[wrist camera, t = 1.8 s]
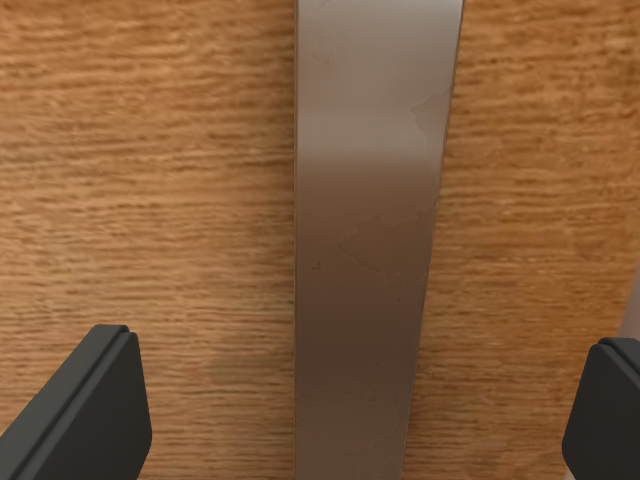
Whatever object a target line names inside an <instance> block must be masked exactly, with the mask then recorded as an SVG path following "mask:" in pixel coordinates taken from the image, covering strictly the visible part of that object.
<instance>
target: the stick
mask: <svg viewBox="0 0 640 480" xmlns="http://www.w3.org/2000/svg"><path fill="white" fill-rule="evenodd" d="M464 7H465V0H295V10H294V480H401V478H402V471H403V463H404V456H405V448H406V441H407V433H408V426H409V418H410V411H411V403H412V396H413V388H414V381H415V373H416V366H417V358H418V351H419V343H420V336H421V328H422V321H423V314H424V306H425V299H426V291H427V284H428V276H429V269H430V261H431V254H432V246H433V239H434V231H435V224H436V216H437V209H438V201H439V194H440V186H441V179H442V171H443V164H444V156H445V149H446V141H447V134H448V126H449V119H450V112H451V104H452V97H453V89H454V82H455V74H456V67H457V59H458V52H459V44H460V37H461V29H462V22H463V14H464Z"/></svg>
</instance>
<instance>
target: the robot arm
mask: <svg viewBox="0 0 640 480" xmlns="http://www.w3.org/2000/svg"><path fill="white" fill-rule="evenodd" d="M151 441H152V428H151V421H150V415H149V408H148V402H147V395H146V388H145V382H144V375H143V368H142V362H141V355H140V348H139V342H138V337H137V334H136V333H134V332H130V331H129V329H128V327H127V326H126V325H105V324H98V325H95V326H94V327H93V328H92V329H91V330H90V331H89V333H88V334H87V335H86V336H85V337H84V339H83V340H82V341H81V342H80V343H79V345H78V346H77V347H76V348H75V349H74V351H73V352H72V353H71V354H70V355H69V357H68V358H67V359H66V360H65V361H64V363H63V364H62V365H61V366H60V368H59V369H58V370H57V371H56V372H55V374H54V375H53V376H52V377H51V378H50V380H49V381H48V382H47V383H46V384H45V386H44V387H43V388H42V389H41V390H40V392H39V393H38V394H37V395H36V396H35V397H34V398H33V399H32V400H31V401H30V402H29V404H28V405H27V406H26V407H25V408H24V410H23V411H22V412H21V413H20V414H19V416H18V417H17V418H16V419H15V420H14V422H13V423H12V424H11V425H10V426H9V428H8V429H7V430H6V431H5V432H4V434H3V435H2V436H1V437H0V480H137V478H138V475H139V473H140V471H141V468H142V466H143V464H144V462H145V459H146V457H147V455H148V452H149V450H150V446H151ZM562 454H563V457H564V460H565V462H566V464H567V466H568V467H569V469H570V471H571V473H572V474H573V475H574V477H575V479H576V480H640V342H639V341H638V340H636V339H633V338H608V337H605V338H602V339H600V340H599V341H598V343H597V344H595V345H593V346H592V347H591V348H590V350H589V353H588V356H587V360H586V363H585V367H584V370H583V373H582V377H581V380H580V383H579V387H578V390H577V393H576V397H575V400H574V404H573V407H572V410H571V414H570V417H569V420H568V424H567V427H566V430H565V434H564V437H563V440H562Z"/></svg>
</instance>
